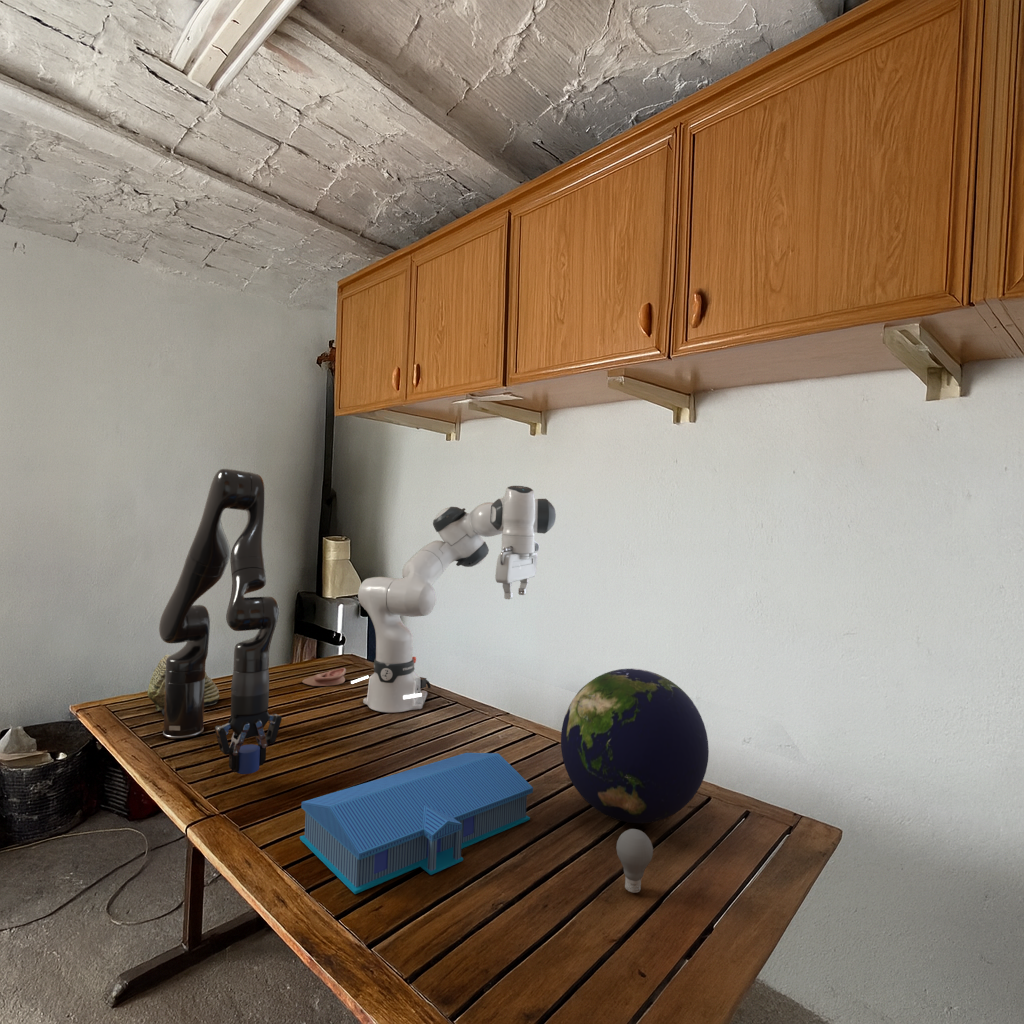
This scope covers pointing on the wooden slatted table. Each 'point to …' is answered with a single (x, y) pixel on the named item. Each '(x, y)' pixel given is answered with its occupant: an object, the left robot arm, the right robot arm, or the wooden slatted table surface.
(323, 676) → the anatomical model
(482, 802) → the model building
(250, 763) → the canister
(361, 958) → the wooden slatted table surface
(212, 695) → the fossil
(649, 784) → the globe
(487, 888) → the wooden slatted table surface
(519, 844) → the wooden slatted table surface
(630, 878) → the light bulb
